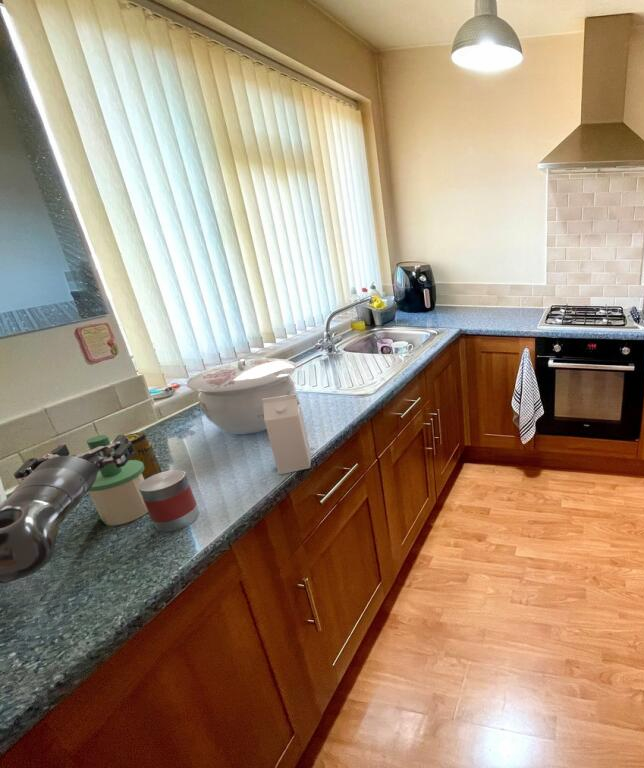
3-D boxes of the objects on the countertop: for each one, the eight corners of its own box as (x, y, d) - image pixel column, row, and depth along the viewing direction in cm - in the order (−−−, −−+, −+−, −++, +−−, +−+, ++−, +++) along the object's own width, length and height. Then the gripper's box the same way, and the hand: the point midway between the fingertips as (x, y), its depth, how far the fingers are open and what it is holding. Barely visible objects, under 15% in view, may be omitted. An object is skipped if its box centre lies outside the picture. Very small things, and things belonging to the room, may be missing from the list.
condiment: (141, 474, 99) (124, 431, 95) (179, 471, 100) (164, 428, 96) (120, 492, 92) (100, 447, 88) (161, 488, 94) (143, 443, 89)
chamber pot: (235, 456, 107) (213, 383, 99) (185, 431, 119) (162, 366, 112) (327, 415, 129) (315, 353, 122) (276, 398, 142) (262, 341, 134)
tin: (151, 537, 79) (132, 495, 75) (161, 515, 85) (144, 475, 81) (196, 525, 82) (180, 484, 78) (202, 504, 88) (188, 466, 84)
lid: (71, 496, 77) (51, 456, 73) (93, 471, 85) (75, 433, 81) (136, 483, 81) (119, 444, 77) (150, 459, 89) (136, 423, 85)
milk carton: (281, 460, 104) (264, 393, 97) (311, 454, 107) (296, 389, 100) (278, 475, 98) (260, 404, 91) (310, 468, 101) (295, 399, 94)
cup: (96, 530, 81) (78, 493, 78) (111, 506, 88) (95, 472, 84) (147, 517, 84) (132, 481, 81) (158, 495, 91) (144, 462, 88)
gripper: (103, 458, 67) (134, 419, 80) (-21, 481, 61) (35, 435, 74) (120, 495, 69) (147, 451, 83) (2, 521, 63) (53, 469, 77)
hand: (94, 443), depth 79 cm, fingers open, 8 cm apart
